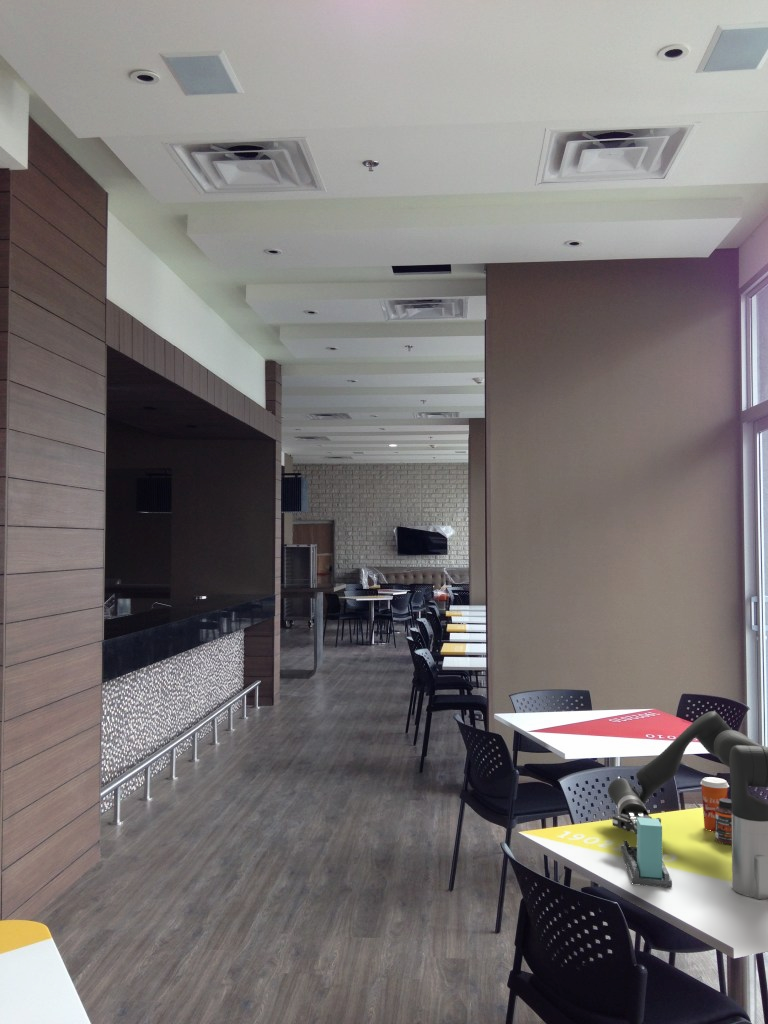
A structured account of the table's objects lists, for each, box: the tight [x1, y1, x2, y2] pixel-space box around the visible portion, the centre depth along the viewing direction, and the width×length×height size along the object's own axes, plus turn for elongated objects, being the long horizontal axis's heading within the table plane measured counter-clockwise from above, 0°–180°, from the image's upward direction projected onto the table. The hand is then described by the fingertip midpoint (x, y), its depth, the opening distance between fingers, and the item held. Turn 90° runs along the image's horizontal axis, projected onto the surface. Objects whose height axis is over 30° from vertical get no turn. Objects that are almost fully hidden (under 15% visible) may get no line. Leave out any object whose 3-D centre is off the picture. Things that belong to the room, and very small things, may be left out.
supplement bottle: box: [714, 798, 732, 846], centre depth 227 cm, size 6×6×11 cm
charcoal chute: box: [620, 839, 673, 889], centre depth 205 cm, size 23×9×3 cm, turn 170°
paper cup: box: [700, 776, 730, 832], centre depth 238 cm, size 8×8×14 cm
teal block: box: [636, 817, 663, 878], centre depth 198 cm, size 6×5×12 cm
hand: (640, 832), depth 208 cm, fingers closed
